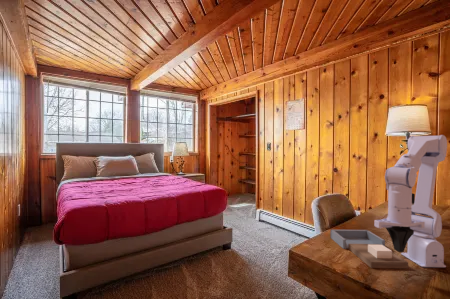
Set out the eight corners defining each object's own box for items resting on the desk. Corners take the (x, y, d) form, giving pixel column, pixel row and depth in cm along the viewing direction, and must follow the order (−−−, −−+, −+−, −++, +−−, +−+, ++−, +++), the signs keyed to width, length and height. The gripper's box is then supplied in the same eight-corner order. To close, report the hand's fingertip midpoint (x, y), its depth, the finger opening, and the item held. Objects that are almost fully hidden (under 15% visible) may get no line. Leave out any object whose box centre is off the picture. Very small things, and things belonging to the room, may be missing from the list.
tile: (391, 258, 77) (391, 251, 77) (376, 258, 77) (377, 250, 77) (381, 251, 82) (381, 244, 82) (367, 251, 82) (367, 244, 82)
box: (384, 249, 88) (384, 240, 88) (343, 248, 89) (343, 239, 89) (367, 238, 99) (367, 229, 99) (330, 237, 100) (330, 229, 100)
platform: (408, 268, 74) (408, 262, 74) (371, 267, 75) (371, 261, 75) (379, 249, 88) (379, 244, 88) (348, 248, 89) (348, 243, 89)
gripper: (410, 203, 74) (409, 244, 74) (367, 203, 73) (367, 245, 74) (431, 209, 67) (430, 255, 67) (384, 209, 66) (383, 255, 66)
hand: (398, 250), depth 70 cm, fingers closed
